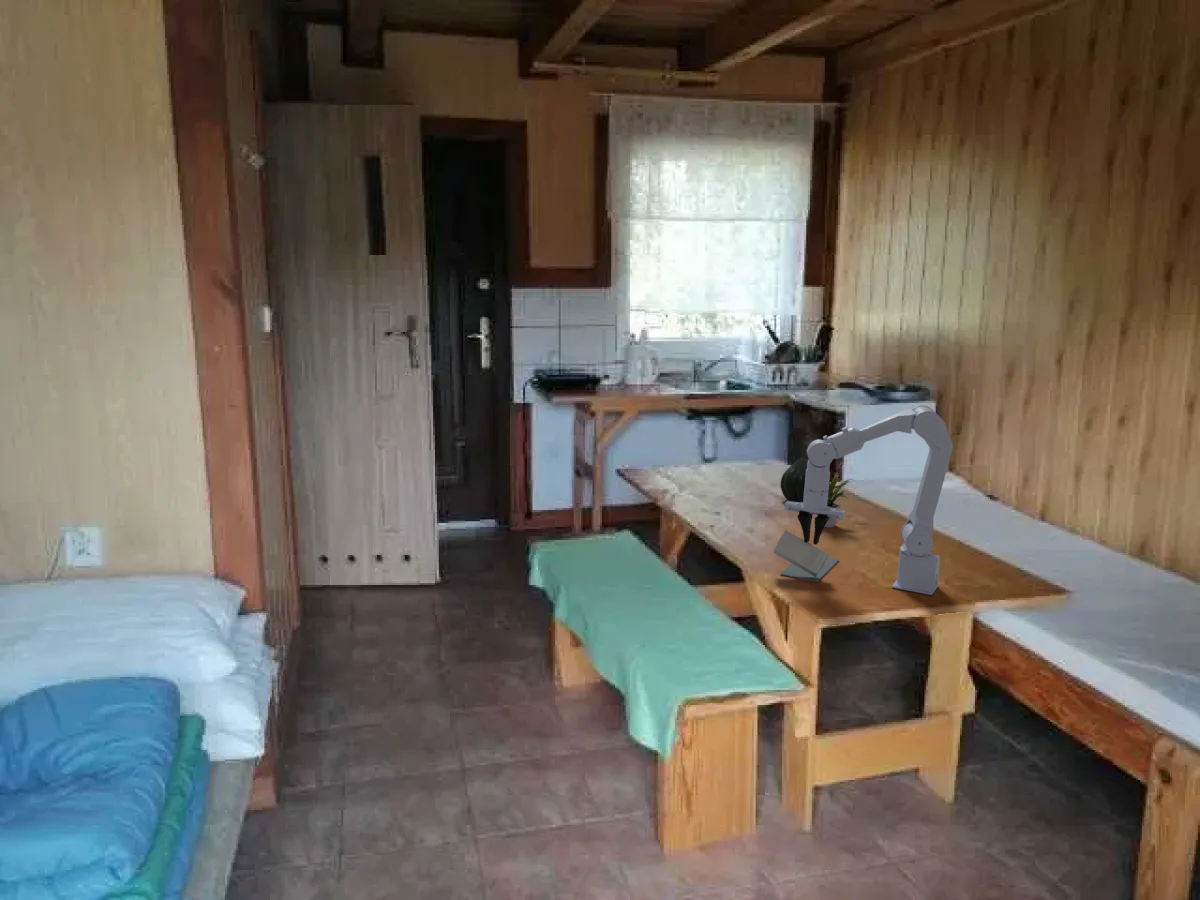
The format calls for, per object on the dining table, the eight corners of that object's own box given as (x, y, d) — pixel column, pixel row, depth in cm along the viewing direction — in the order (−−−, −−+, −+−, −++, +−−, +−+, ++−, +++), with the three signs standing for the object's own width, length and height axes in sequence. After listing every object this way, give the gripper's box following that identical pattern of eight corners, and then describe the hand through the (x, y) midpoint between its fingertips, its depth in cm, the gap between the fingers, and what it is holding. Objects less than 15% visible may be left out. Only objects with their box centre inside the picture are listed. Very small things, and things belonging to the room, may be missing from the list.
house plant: (853, 535, 269) (858, 480, 265) (804, 531, 271) (809, 476, 268) (850, 521, 282) (855, 469, 279) (804, 517, 285) (808, 465, 282)
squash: (824, 495, 291) (828, 454, 298) (776, 492, 296) (781, 451, 303) (826, 515, 303) (830, 475, 310) (780, 512, 307) (785, 473, 314)
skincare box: (828, 558, 232) (785, 533, 236) (829, 553, 228) (785, 528, 232) (815, 578, 231) (773, 553, 235) (816, 574, 227) (772, 548, 231)
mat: (839, 560, 245) (839, 559, 245) (817, 582, 229) (817, 580, 228) (803, 554, 250) (803, 553, 250) (780, 575, 233) (780, 573, 233)
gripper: (850, 490, 227) (845, 543, 230) (792, 481, 234) (788, 533, 236) (842, 496, 221) (837, 551, 224) (783, 487, 228) (779, 540, 230)
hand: (811, 542), depth 230 cm, fingers closed
